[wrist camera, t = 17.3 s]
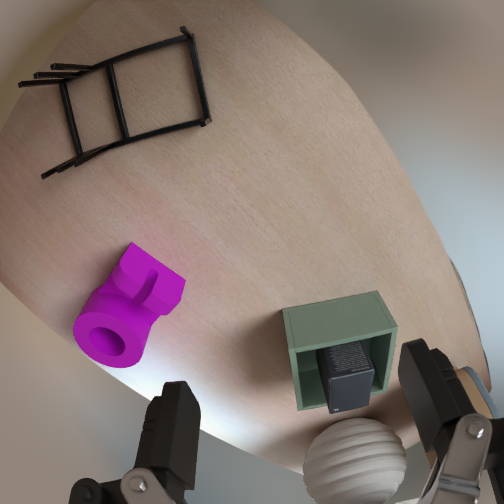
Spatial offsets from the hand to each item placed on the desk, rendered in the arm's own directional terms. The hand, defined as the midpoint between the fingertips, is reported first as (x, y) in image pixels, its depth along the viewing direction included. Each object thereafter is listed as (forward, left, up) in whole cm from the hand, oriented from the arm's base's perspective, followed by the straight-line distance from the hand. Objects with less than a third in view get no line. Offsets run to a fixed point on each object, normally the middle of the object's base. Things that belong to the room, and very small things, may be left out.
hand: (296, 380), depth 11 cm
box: (-7, +25, -27) cm, 37 cm away
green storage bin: (-7, +25, -27) cm, 37 cm away
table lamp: (-10, +56, -27) cm, 63 cm away
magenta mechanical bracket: (+20, +13, -27) cm, 36 cm away
